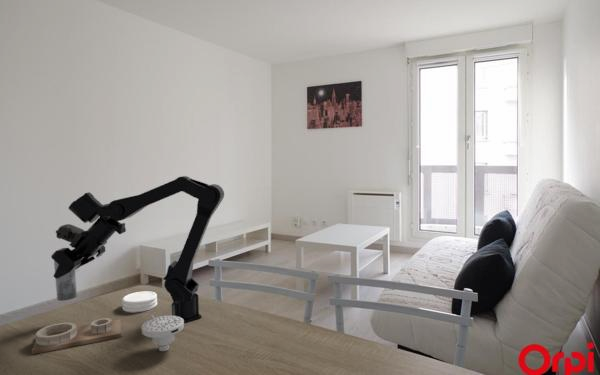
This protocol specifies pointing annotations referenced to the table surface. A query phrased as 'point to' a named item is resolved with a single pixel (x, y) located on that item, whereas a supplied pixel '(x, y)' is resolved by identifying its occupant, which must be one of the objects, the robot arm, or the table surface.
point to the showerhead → (162, 329)
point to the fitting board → (82, 338)
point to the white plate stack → (139, 301)
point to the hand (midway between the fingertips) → (60, 274)
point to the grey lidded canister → (65, 285)
